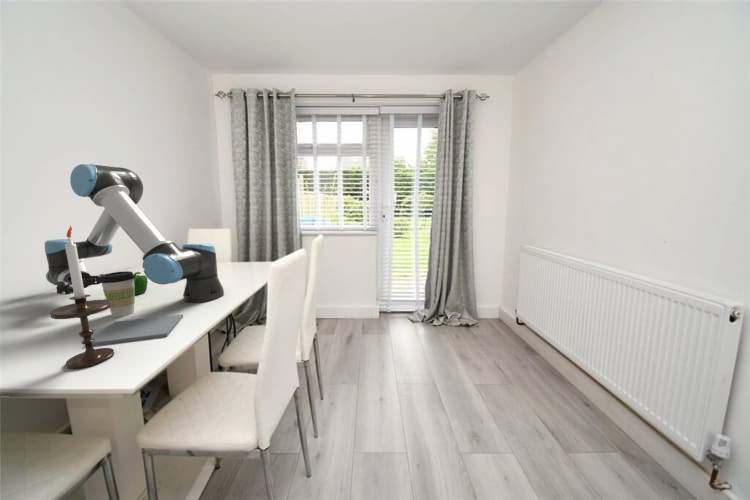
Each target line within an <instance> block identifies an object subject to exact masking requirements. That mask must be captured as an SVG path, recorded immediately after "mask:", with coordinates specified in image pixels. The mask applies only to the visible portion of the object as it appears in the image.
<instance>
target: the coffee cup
mask: <svg viewBox="0 0 750 500" xmlns="http://www.w3.org/2000/svg"><path fill="white" fill-rule="evenodd" d="M134 278H135V275H134V273H133V271H130V270H128V271H127V270H126V271H115V272H109V273H105V275H102V276H101V279H100V281H99V282H100V284H101V286H102V292H103V294H104V297H105V300H109V301H110V302H111V307H110V308H109V310H110V312H111V316H112V317H113V318H121V317H126V316H129V315H132V314H134V313H135V300H136V299H135V296H136V295H135V285H134Z"/></svg>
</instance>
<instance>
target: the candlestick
mask: <svg viewBox="0 0 750 500" xmlns="http://www.w3.org/2000/svg"><path fill="white" fill-rule="evenodd" d="M72 230H73V228H72V226H71V225H70V226H69V228H68V230H67V233H66V237H67V239H68V242H67V244H65V248H66V253H67V259H68V264H69V270H70V275H71V280H72V286H73V291H74V293H73V295H74V296H71V297H69V298H68V300H72V301H74V303H70V304H66V305H63V306H60V307H57V308H55V309H52V310H51V311H50V313H49V314H50V318H51V319H53V320H69V319H80V325H81V326H80V327H81V331H80V332H79V333H78V336H79V337H80V338H83V340H82V341H81V342H80V343H81V345H84V348H85V350H84V352H80V353H78V354H76V355H74V356H72V357H70V358H69V359H67V360H66V363H65V366H66V367H65V368H67V369H68V370H81V369H82V370H83V369H87V368H90V367H94V366H97V365H100V364H102V363H105V362H106V361H108V360H110V359H111V358H113V357H114V356H115V350H114V348H111V347H102V348H101V347H99V348H94V346H93V345H92V342H94V341H95V340H94V339H92V338H93V337H92V336H94V332H95V330H94V329H92V328H90V324H89V318H88V317H89V316H92V315H95V314H98V313H101V312H104V311H106V310H108V309H110V307H111V302H110V301H109V300H106V299H93V300H91V299H90V300H87V298H88V297H92V295H91V294H86V293H85V290H84V287H83V282H82V276H81V270H80V265H79V259H78V254H77V248H76V244H73V241H72V237H71V236H72Z"/></svg>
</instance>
